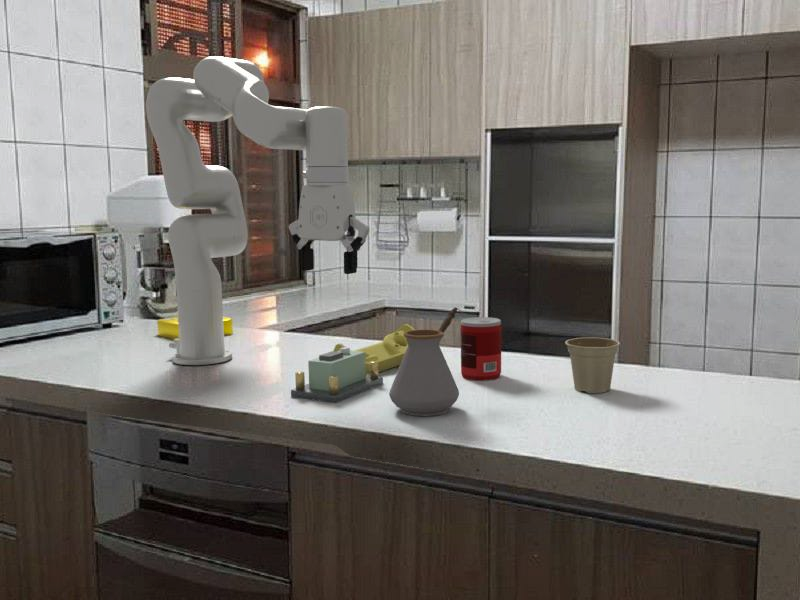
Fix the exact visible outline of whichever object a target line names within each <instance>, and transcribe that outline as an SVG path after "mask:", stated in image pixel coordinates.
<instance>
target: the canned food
mask: <svg viewBox="0 0 800 600" xmlns="http://www.w3.org/2000/svg"><path fill="white" fill-rule="evenodd" d="M460 368H461V369H460V373H461V377H462V378H464V379H466V380H468V381H469V380H470V381H477V382H478V381H494V380H496V379H498V378H500V376H501V373H502V319H500V318H498V317H491V316H490V317H487V316H486V317H485V316H477V317H467V318H462V319H461V320H460Z"/></svg>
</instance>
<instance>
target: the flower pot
mask: <svg viewBox="0 0 800 600" xmlns="http://www.w3.org/2000/svg"><path fill="white" fill-rule="evenodd" d="M564 344H565V345H566V346H567V352H568V353H569V359H570V365H571V371H572V377H573V378H572V379H573V388H574V389H575V390H576V391H577V392H580V393H581V392H586V393H587V394H604V393H606V392H607V391H610V390H611V386H612V380H613V372H614V365H615V359H616V358H615V357H616V354H617V352H618V347H619V346H620V345H621V343H620V341H619V340H616V339H611V338H605V337H591V336H590V337H576V338H571V339H567V340H565V343H564Z"/></svg>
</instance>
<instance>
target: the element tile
mask: <svg viewBox="0 0 800 600" xmlns="http://www.w3.org/2000/svg"><path fill="white" fill-rule="evenodd" d="M156 325H157V335H158V336H160V337H164V338H166V339H167V338H168V339H172V340H174V339H179V326H178V316H175V317H168V318H167V317H166V318H160V319H158V320H157V324H156ZM223 327H224V336H228V335H232V334H233V333H234V332H233V330H234V329H233V318H231V317H226V316H223Z"/></svg>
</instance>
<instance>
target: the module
mask: <svg viewBox="0 0 800 600" xmlns="http://www.w3.org/2000/svg"><path fill="white" fill-rule="evenodd" d="M333 351H334V350H333ZM333 351H328V352H325V353H323V354H320V355H318V356H319V357H315V358H313V359H309V360H308V361H307V362H308V363H307V364H308V365H307V367H308V384H309V388H311V389H319V390H326V391H329V376H338V389H340V388H342V387H345V386H347V385H350V384H352V383H355V382H357V381H360V380H363V379H365V378H366V360H365V352H361V351H354V350H352V349H350V347H347V346H345V347H344V348H340V351H337V352H333Z"/></svg>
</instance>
